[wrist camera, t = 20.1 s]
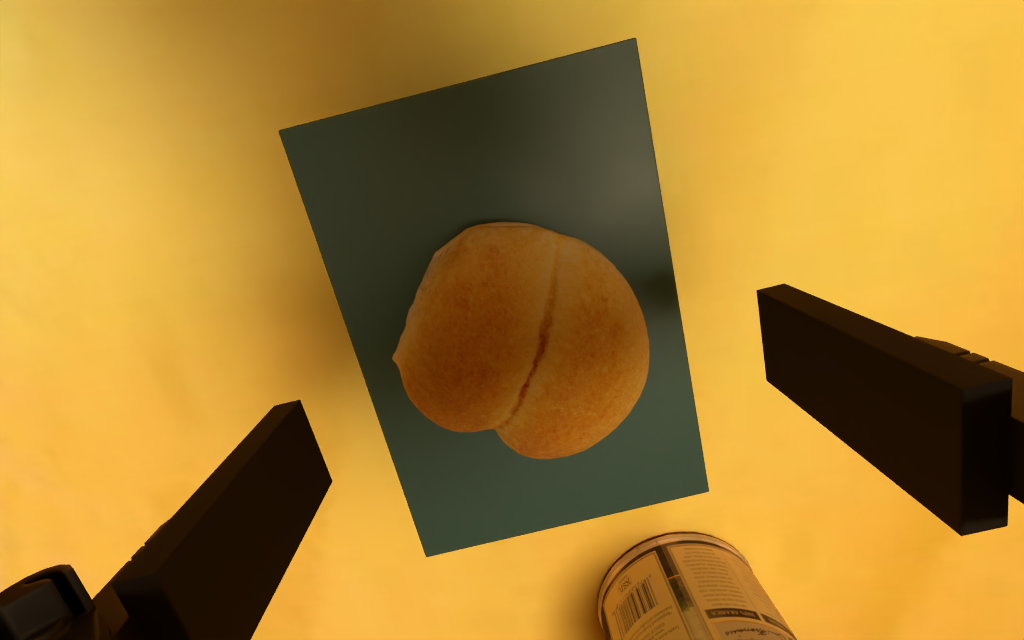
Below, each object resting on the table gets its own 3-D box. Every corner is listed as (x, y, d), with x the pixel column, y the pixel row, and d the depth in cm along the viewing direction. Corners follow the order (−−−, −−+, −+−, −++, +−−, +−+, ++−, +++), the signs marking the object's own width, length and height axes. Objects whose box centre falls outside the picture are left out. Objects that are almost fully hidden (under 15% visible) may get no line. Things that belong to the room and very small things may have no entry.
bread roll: (585, 459, 22) (605, 521, 18) (381, 384, 21) (355, 432, 17) (678, 280, 20) (723, 306, 16) (458, 185, 19) (450, 188, 15)
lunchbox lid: (286, 132, 19) (277, 130, 18) (630, 43, 18) (636, 36, 18) (427, 545, 24) (426, 557, 23) (702, 481, 23) (709, 491, 23)
